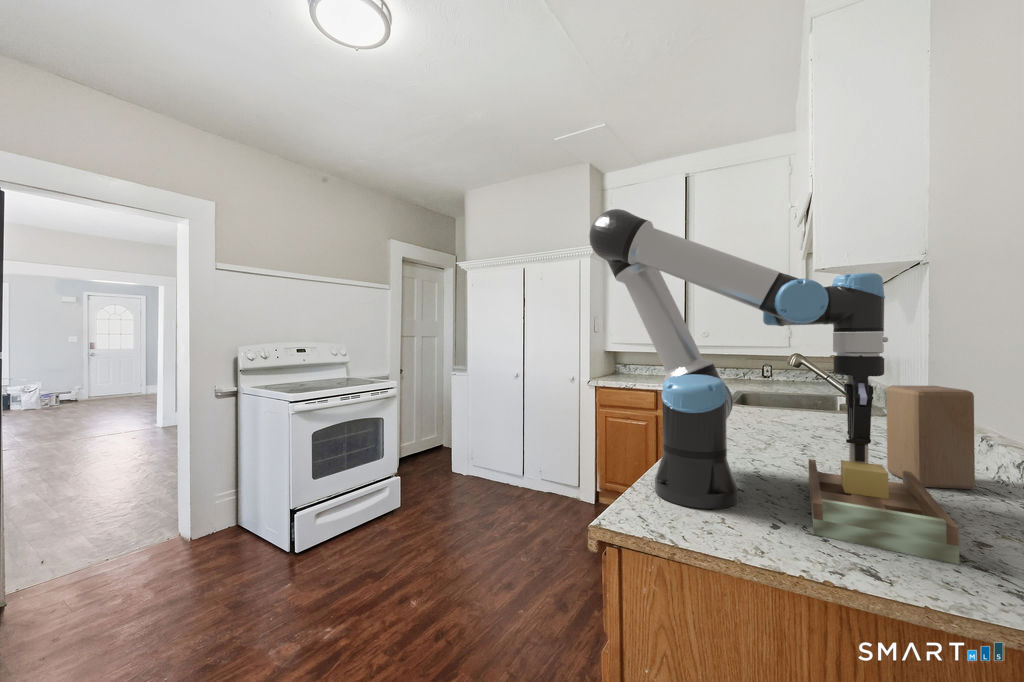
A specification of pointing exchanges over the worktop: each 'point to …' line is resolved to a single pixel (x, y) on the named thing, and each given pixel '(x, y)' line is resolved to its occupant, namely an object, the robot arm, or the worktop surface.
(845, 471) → the ochre block
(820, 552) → the worktop surface
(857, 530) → the tray
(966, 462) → the block
